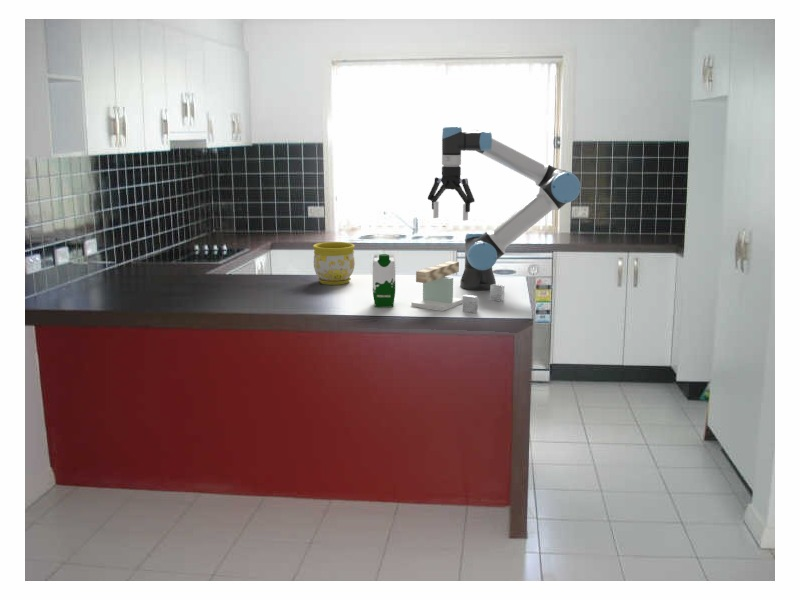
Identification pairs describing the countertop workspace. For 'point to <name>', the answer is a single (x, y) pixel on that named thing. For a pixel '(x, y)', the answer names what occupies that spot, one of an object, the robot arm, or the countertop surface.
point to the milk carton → (384, 281)
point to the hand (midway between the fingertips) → (450, 219)
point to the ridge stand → (438, 295)
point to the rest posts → (472, 301)
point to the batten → (437, 271)
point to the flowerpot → (334, 262)
